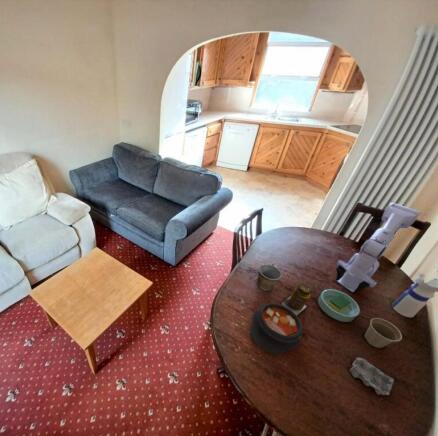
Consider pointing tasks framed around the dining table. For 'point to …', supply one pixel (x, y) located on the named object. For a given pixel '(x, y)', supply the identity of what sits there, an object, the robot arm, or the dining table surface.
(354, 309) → the bowl
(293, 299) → the condiment
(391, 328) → the flower pot
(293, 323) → the casserole
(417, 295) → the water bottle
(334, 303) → the sponge
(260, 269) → the ceramic cup
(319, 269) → the dining table surface
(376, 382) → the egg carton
